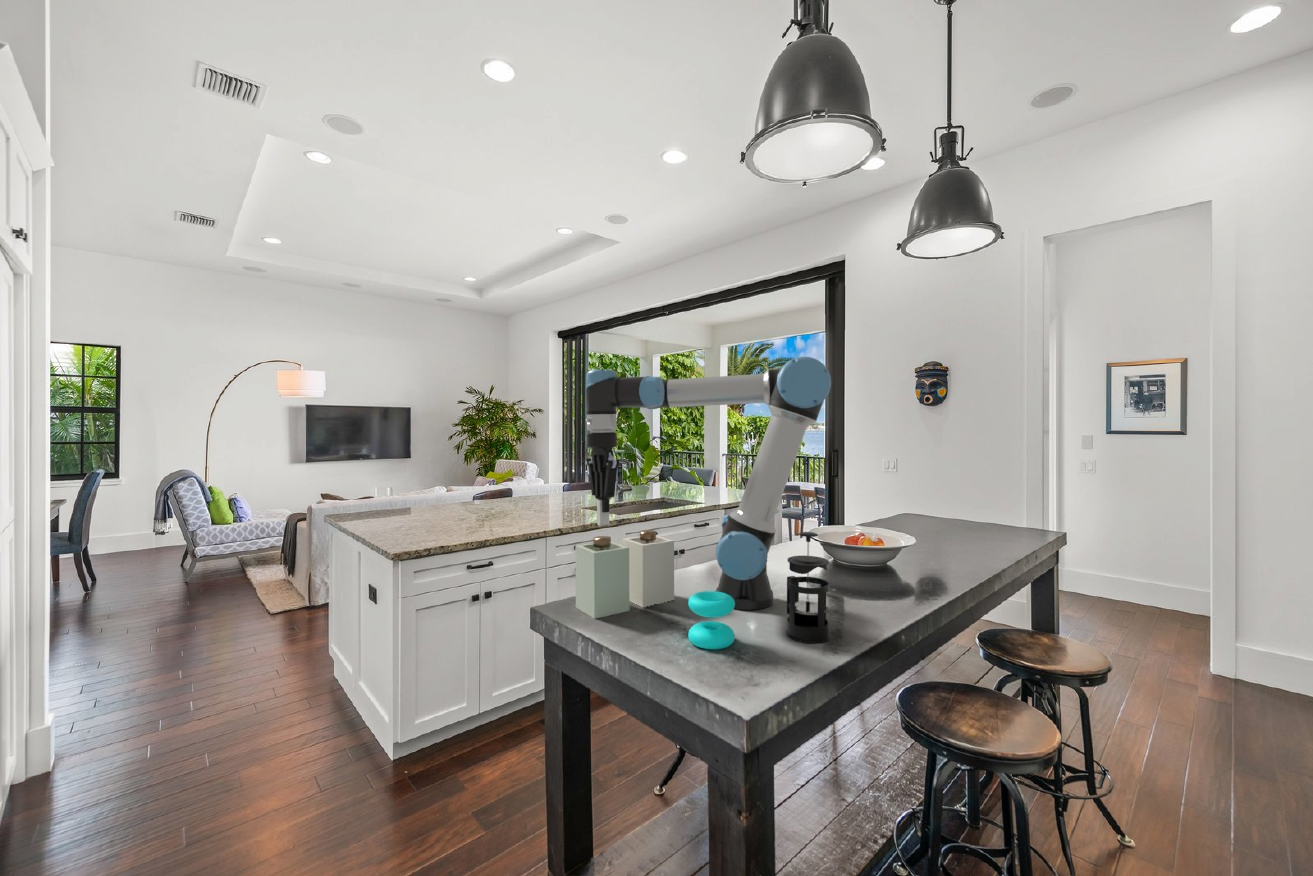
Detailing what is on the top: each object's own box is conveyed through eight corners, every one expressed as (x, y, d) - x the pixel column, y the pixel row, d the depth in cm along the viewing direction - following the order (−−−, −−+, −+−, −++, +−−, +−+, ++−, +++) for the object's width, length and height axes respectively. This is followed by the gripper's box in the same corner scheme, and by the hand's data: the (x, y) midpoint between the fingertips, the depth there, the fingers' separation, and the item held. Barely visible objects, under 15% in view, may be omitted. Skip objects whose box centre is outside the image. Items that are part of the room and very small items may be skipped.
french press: (841, 640, 120) (842, 535, 119) (806, 648, 116) (807, 539, 116) (805, 622, 131) (806, 526, 130) (772, 629, 127) (773, 529, 126)
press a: (674, 600, 147) (674, 540, 147) (642, 607, 142) (642, 545, 141) (653, 591, 156) (652, 534, 155) (622, 597, 150) (622, 538, 149)
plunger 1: (620, 591, 140) (619, 538, 139) (597, 596, 136) (596, 541, 136) (607, 585, 145) (606, 534, 145) (584, 589, 141) (584, 537, 141)
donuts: (713, 607, 112) (678, 596, 119) (713, 656, 112) (678, 641, 120) (744, 596, 119) (709, 586, 126) (744, 642, 119) (709, 630, 127)
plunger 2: (665, 582, 148) (665, 532, 147) (644, 586, 144) (644, 535, 144) (651, 576, 153) (651, 528, 153) (631, 580, 149) (630, 531, 149)
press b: (629, 610, 139) (629, 547, 139) (594, 618, 134) (594, 553, 133) (609, 600, 148) (609, 540, 147) (575, 607, 142) (575, 545, 142)
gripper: (576, 431, 143) (578, 522, 143) (601, 432, 132) (603, 530, 133) (602, 431, 147) (603, 519, 148) (628, 431, 136) (629, 526, 137)
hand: (603, 524), depth 140 cm, fingers closed
